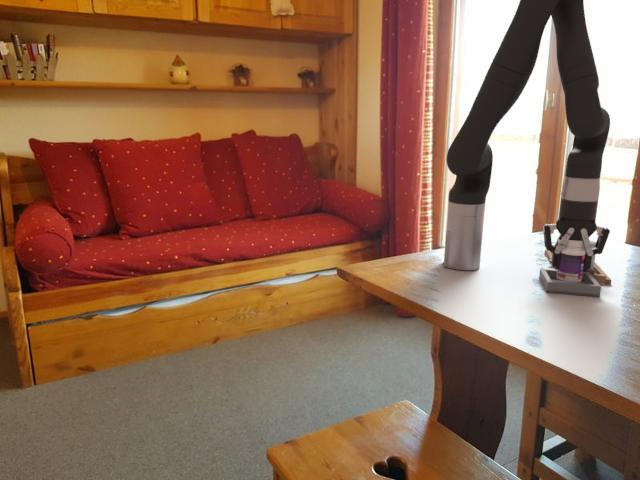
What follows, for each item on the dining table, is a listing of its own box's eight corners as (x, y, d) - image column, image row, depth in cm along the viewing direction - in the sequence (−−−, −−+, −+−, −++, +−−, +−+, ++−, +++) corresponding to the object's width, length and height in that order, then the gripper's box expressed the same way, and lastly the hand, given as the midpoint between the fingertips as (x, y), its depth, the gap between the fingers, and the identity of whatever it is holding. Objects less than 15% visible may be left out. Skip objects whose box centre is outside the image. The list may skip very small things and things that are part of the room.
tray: (546, 292, 117) (547, 282, 116) (539, 278, 127) (540, 268, 126) (599, 297, 114) (601, 286, 113) (587, 282, 124) (589, 272, 124)
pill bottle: (584, 284, 117) (590, 242, 115) (559, 282, 118) (564, 241, 116) (578, 276, 122) (583, 237, 120) (553, 275, 123) (558, 235, 121)
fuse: (573, 279, 127) (578, 243, 124) (569, 273, 131) (574, 239, 129) (594, 280, 125) (599, 244, 123) (589, 275, 130) (594, 240, 128)
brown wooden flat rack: (557, 280, 125) (559, 268, 125) (541, 253, 150) (542, 243, 149) (610, 284, 123) (612, 272, 122) (585, 256, 147) (586, 246, 146)
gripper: (548, 198, 114) (539, 271, 118) (620, 201, 110) (608, 276, 114) (542, 193, 121) (534, 262, 125) (610, 196, 117) (599, 267, 121)
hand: (570, 269), depth 119 cm, fingers closed on pill bottle, 5 cm apart
